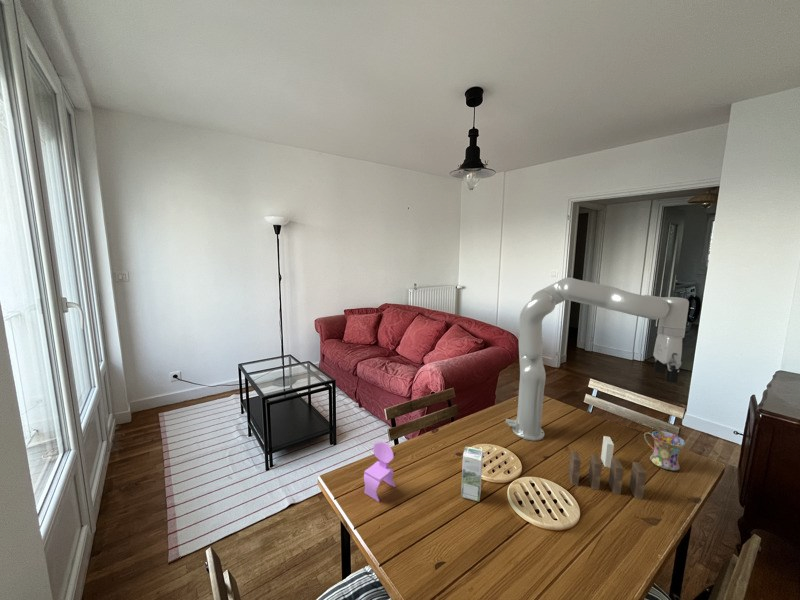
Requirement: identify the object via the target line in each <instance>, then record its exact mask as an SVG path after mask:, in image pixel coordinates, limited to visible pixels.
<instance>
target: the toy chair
mask: <svg viewBox="0 0 800 600" xmlns="http://www.w3.org/2000/svg"><path fill="white" fill-rule="evenodd" d="M372 450H373V453H374V457H375V458H376V459H377V461H376V462H375V463H373V464H372V465H371V466H369V467H368V468H367V469H365V470H364V471H363V472H364V474H363V481H364V492H363V493H364V494H366V496H369V497H370V498H371V499H374V500H375V501H377V502H378V503H380V499H379V497H378V493H377V492H378V491H377V490H378V488H379V486H380V484H381V482H382V481H383V482H385V483H386V484H389V485H390V486H392V487H394V488H396V484H395V482H394V479H393V476H394V468H392V467H390V466H389V464H390V462H392V461H393V460H394V458H395V454H394V452H393V451H394V450H393V449H392V448H391V445H389V443H387V442H384V441H380V442H375V443H374V445H373V448H372ZM378 460H379V461H378Z"/></svg>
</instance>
